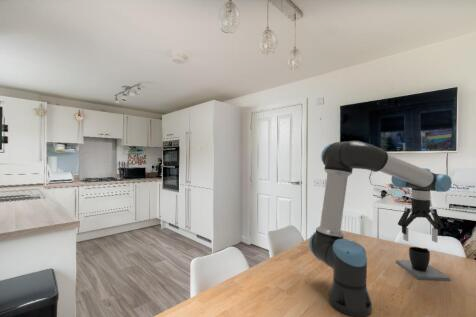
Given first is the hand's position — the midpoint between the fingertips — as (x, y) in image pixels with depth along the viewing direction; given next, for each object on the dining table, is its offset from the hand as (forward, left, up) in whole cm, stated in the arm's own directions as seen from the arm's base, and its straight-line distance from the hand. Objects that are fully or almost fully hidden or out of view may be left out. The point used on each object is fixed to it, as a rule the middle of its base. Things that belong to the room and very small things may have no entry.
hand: (420, 240), depth 117 cm
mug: (+1, -1, -14) cm, 14 cm away
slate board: (0, 0, -15) cm, 15 cm away
